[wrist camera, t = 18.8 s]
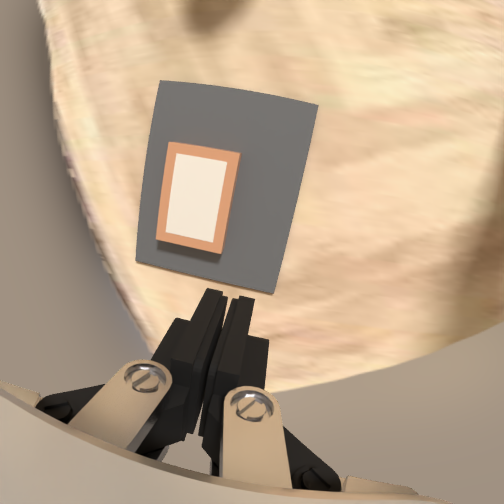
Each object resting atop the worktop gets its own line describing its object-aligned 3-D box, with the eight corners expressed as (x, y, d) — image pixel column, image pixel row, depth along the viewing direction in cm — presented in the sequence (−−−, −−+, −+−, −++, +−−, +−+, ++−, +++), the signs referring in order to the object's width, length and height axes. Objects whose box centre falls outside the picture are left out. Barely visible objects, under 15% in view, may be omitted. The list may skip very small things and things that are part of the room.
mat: (161, 80, 28) (160, 80, 28) (318, 105, 28) (318, 105, 27) (136, 259, 35) (135, 260, 35) (273, 291, 35) (273, 293, 34)
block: (242, 152, 30) (174, 141, 30) (239, 153, 28) (168, 141, 28) (224, 248, 33) (161, 234, 33) (221, 254, 32) (155, 239, 32)
